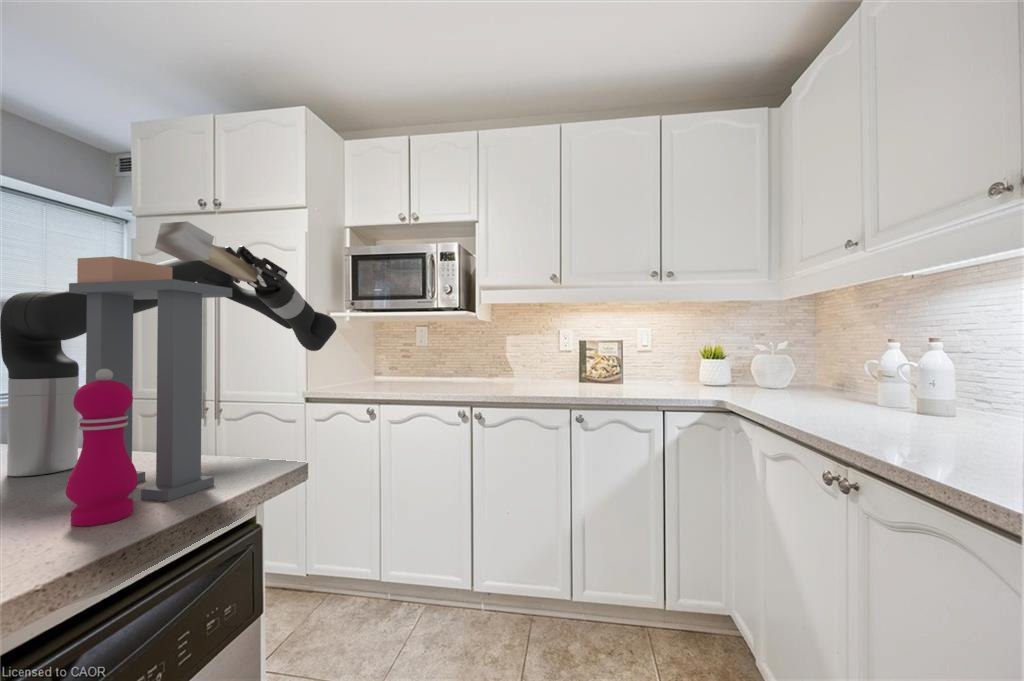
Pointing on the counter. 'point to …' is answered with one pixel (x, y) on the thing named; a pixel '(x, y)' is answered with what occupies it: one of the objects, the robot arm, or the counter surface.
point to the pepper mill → (102, 454)
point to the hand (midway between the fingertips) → (232, 249)
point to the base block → (119, 270)
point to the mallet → (200, 249)
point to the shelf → (174, 369)
